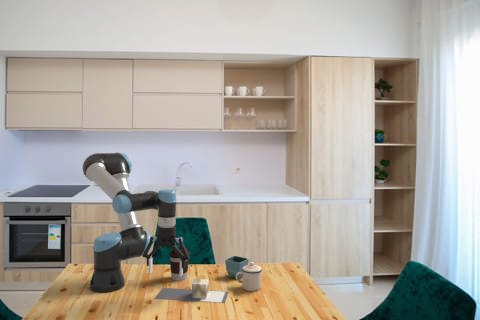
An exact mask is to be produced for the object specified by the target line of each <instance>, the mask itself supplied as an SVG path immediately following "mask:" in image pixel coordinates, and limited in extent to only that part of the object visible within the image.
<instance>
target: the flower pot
mask: <svg viewBox="0 0 480 320" xmlns="http://www.w3.org/2000/svg"><path fill="white" fill-rule="evenodd" d="M249 260H250V259H249V258H247V257H243V256H238V255H232V256H230V257H228V258H226V259H225V260H224V262H225V270H226V273H227V275H228V277H230V278H232V279H236V274H237V273H238V272H243V271H242V268H243V267H244V266H246V265H249ZM241 278H243V274H239V275H238V276H237V279H238V280H239V279H241Z"/></svg>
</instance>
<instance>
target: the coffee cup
mask: <svg viewBox="0 0 480 320" xmlns="http://www.w3.org/2000/svg"><path fill="white" fill-rule="evenodd" d="M177 247H178V246H177ZM178 249H179V250H180V251H181V252H182V250H181V248H180V246H179V247H178ZM186 250H187V252H188V254H189V256H190V255H191V252H190V250H188V249H187V248H186ZM182 254H183V252H182ZM183 255H184V254H183ZM168 257H169V258H170V259H169V267H170V277H171V280H172V281H175V282H180V281H181V282H182V281H185V280H187V279H188V271H189V263H190V262H189V260H190V258H189V259H188V260H185V268H183V275H182V276H180V261H181V259H180V258H179V256H178V255H177V254H176V253H175V251H174V250H173V249H172V248H171V250H170V251H169V252H168ZM190 257H191V256H190Z"/></svg>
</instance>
